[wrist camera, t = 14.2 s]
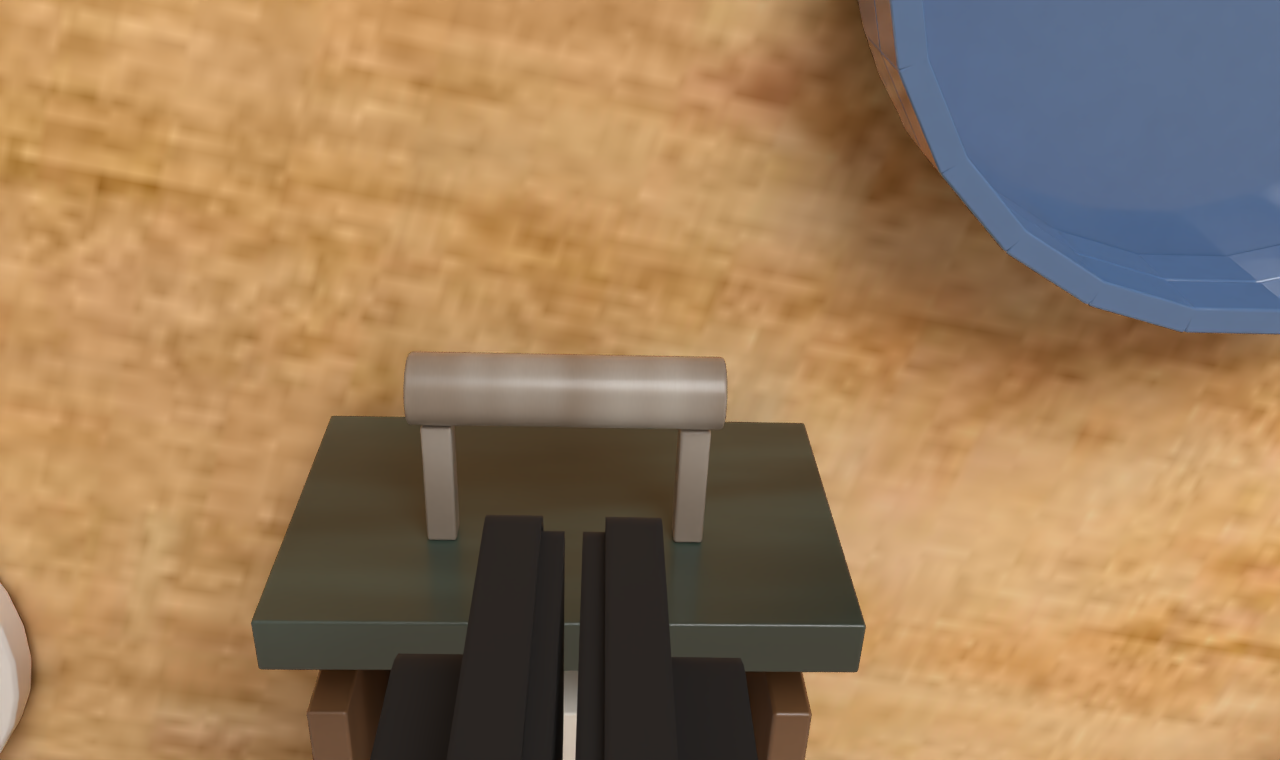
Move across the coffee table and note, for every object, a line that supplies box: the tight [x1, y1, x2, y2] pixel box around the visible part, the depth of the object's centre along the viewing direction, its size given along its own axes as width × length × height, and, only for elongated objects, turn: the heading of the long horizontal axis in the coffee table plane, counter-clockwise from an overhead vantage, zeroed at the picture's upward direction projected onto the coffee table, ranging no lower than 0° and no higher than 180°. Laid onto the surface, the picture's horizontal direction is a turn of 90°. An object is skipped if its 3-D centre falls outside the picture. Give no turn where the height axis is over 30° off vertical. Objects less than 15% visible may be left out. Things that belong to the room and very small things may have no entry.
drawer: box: [251, 352, 866, 760], centre depth 26 cm, size 18×11×7 cm, turn 178°
